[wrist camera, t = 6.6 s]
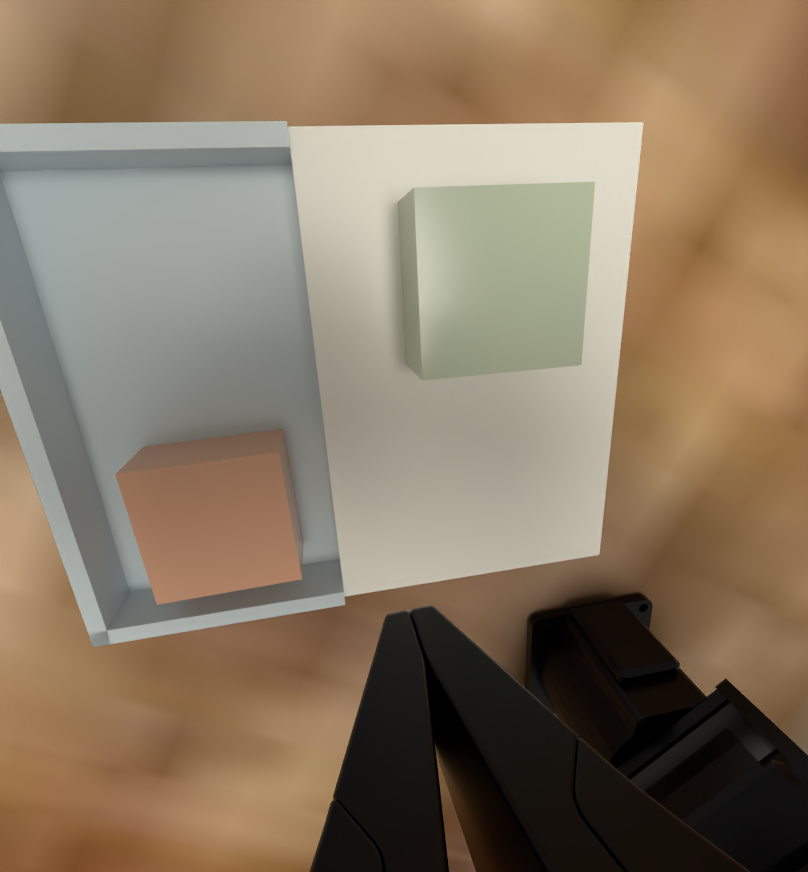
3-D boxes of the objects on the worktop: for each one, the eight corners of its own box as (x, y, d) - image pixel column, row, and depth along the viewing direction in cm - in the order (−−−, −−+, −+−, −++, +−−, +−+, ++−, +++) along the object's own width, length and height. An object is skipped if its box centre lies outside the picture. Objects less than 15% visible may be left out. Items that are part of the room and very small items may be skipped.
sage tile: (543, 352, 16) (581, 365, 14) (406, 364, 16) (422, 380, 13) (551, 196, 15) (594, 181, 12) (397, 202, 14) (414, 187, 12)
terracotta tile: (303, 542, 19) (302, 579, 17) (177, 563, 18) (156, 604, 16) (283, 428, 17) (278, 452, 15) (142, 446, 17) (115, 474, 14)
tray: (341, 567, 20) (345, 604, 18) (120, 601, 19) (93, 646, 17) (291, 145, 15) (286, 120, 12) (-25, 151, 13) (-95, 124, 11)
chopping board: (575, 531, 22) (599, 554, 20) (341, 567, 20) (344, 596, 18) (606, 139, 16) (643, 122, 15) (291, 145, 15) (287, 126, 13)
